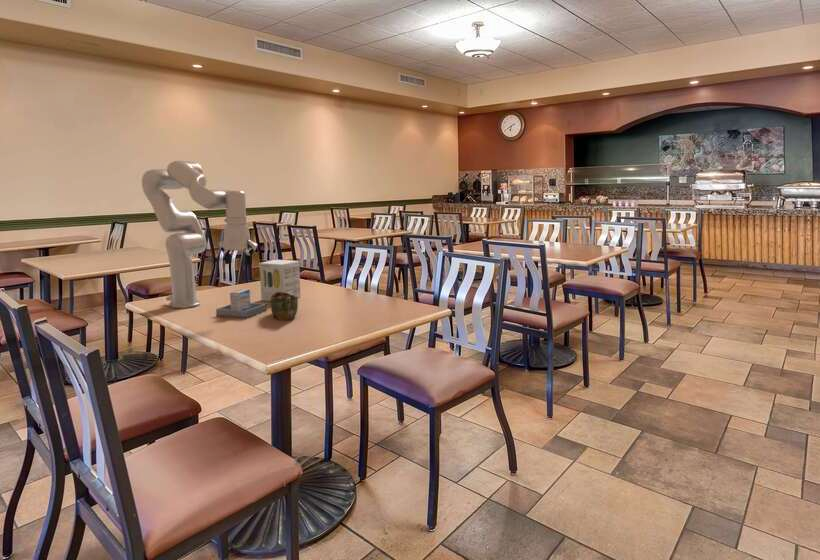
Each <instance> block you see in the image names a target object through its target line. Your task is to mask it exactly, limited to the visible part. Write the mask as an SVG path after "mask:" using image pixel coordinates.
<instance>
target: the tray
mask: <svg viewBox="0 0 820 560" xmlns="http://www.w3.org/2000/svg"><path fill="white" fill-rule="evenodd" d="M250 303H251V309H249V310H247V311H241V310H231V303H230V304H227V305H225V306H221V307H218V308H216V309H215V311H216V312H215V313H216V314H215V315H216V317H219V318H220V317H221V318H232V319H243V318H244V319H243V320H245V319H247V318H248V319H250V318H252V316H253V317H255V316H258V315H261V314H262V312H263V313H265V312H267V304H266V303H255V302H250ZM257 314H258V315H257ZM248 319H247V320H248Z"/></svg>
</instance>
